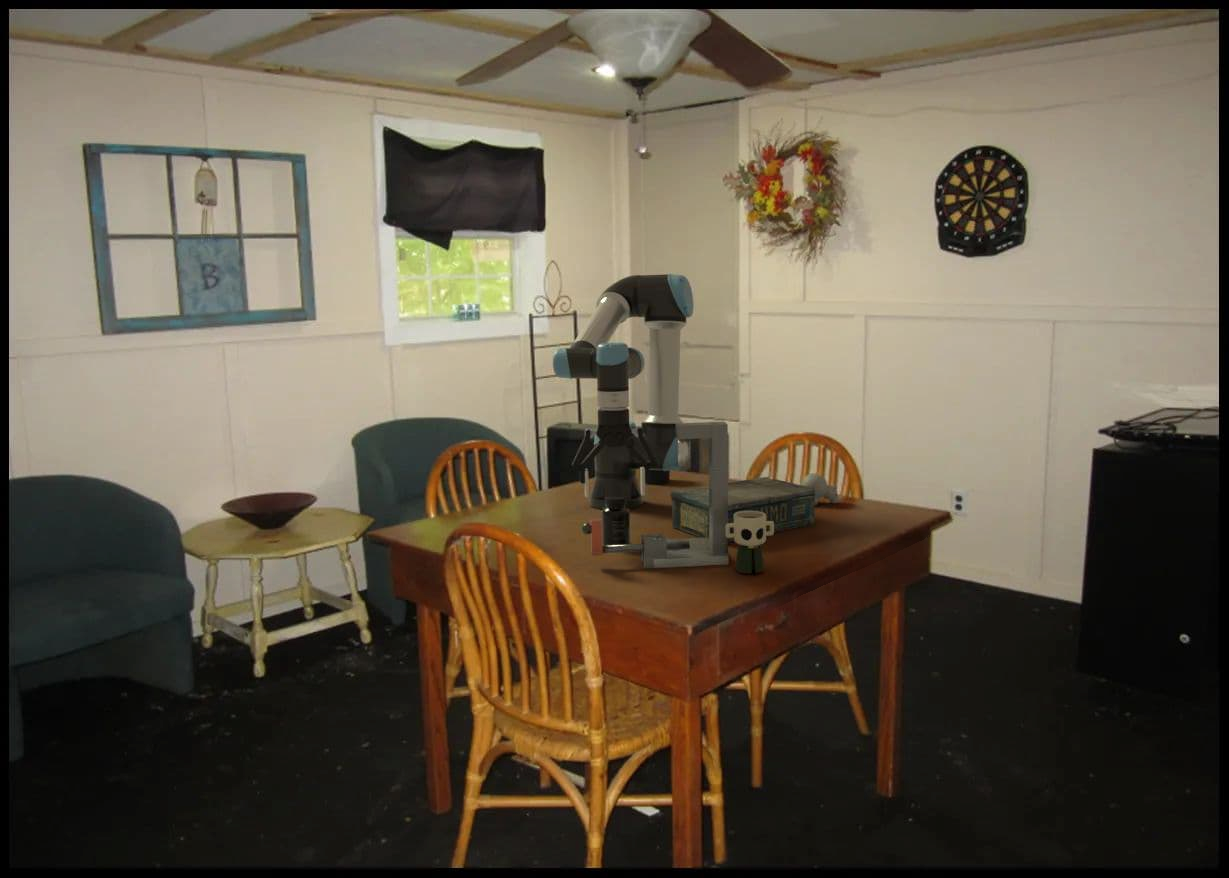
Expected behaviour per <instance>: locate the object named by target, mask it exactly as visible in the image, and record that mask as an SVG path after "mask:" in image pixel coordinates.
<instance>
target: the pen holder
mask: <svg viewBox="0 0 1229 878" xmlns="http://www.w3.org/2000/svg"><path fill="white" fill-rule="evenodd" d="M670 471H671V470H667V471H663V470H649V481H645V483H646V484H645V485H650V484H659V485H665V483H666V484H668V483H669V482H670V474H671V473H670Z"/></svg>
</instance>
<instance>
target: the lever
mask: <svg viewBox="0 0 1229 878" xmlns="http://www.w3.org/2000/svg"><path fill="white" fill-rule="evenodd" d="M581 532H582V533H583V534H585V535H590V547H591V549H590V552H591V556H593V557H594V556H596V557H597V556H603V555H604V554H618V553H619V554H620V553H622V554H624V553H642V552H644V544H642V543H630V544H624V545H603V538H602V517H596V518H590V522H585V523H583V524H582V526H581ZM689 548H690V545H689V541H687V542H667V550H686V549H689Z"/></svg>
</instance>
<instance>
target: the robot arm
mask: <svg viewBox="0 0 1229 878" xmlns="http://www.w3.org/2000/svg"><path fill="white" fill-rule="evenodd" d="M595 308H596V309H595V310H594V311H593V313H592V314H591V316H590V317H589V318H588V320H587V321H586V323H585V325H584V326H583V328H582V329H581V331H580V332H579V334H578V335H577V337H576V338H575V339H574V341H573V343H572V344H571V345H570V346H569V347H563V348H562V347H561V348H557V349H556V350H555V351H554V352H553V356H552V368H553V372H554V374H555V376H556V377H557V378H561V379H570V380H572V379H581V380H582V379H586V380H588V379H589V380H590V379H592V380H593V379H594V380H595V379H596V382H597V383H596V385H597V388H596V389H597V393H596V395H597V397H596V398H597V399H596V400H597V407H598V408H599V409H598V410H597V427H596V429H590V428H589V427H588V428H585V430H584V437H583V439H582V442H581V443H580V446H579V448H578V450H577V452H576V455H575V456H574V458H573V460H572V463H571V466H572V468H573V469H575V470H579V482H580V484H582V485H583V484H584V497H585V498H587V499H588V498H589V505H590V506H591V507H592V508H595V509H599V510H603V509H604V508H605V507H606V505H605V497H607V496H612V495H621V496H624V497H625V505H624V506H625V507H627V508H628V509H629V510H630V509H635V508H639V507H640V506H642V505H643V503H644V502H643V496H646V484H645V481H649V470H663V471H667V470H670V471H679V470H680V469H678V438H677V437H676V423H684V421H683V420H682V419H681V418H680V417H679V398H680V397H679V395H680V363H681V361H680V360H681V330H682V329H683V328H684V327H685V326H686V325H687V318H690V317H692V316H693V315H694V314H693V313H694V295H693V291H692V287H691V284H690V281H689V279H688V278H687V277H686V276H685V275H682V274H673V273H672V274H671V273H668V274H644V275H641V274H634V275H628V276H626V277H623V278H622V279H619V280H618V281H616V282H614V283H612V284H611V285H610V286H609V287H607V288H606V289H605V290H604V291H603V292H602V293H601V294H600V296H598V298H597V301H596V305H595ZM629 318H644V325H645V326H646V327H647V328H648V329H649V339H648V340H649V342H648V348H649V349H648V379H647V381H648V383H647V386H648V387H647V415H646V417H644V419H643V420H641V426H637V427H636V422H634V421H630V410H629V408H628V407H630V387H629V383H630V382H629V381H630V380H632V379H634V378H636V377H637V376H639V375H640V374H641V373H642V372H643V370H644V368H645V363H646V362H645V358H644V355H643V353H642V352H641V351H640V350H638V349H637V348H635V347H629V346H628V345H627V343H624V342H609V341H610V340H611V338H612V337H613V335H614V333H615V332H616V331H617V329H618V327H619V326H620V325H621V324H622V323H624V322H626V321H627V320H628V319H629ZM593 438H594V442H593V448H592V450H591V451H590V452H588V453H589V454H587V456H586V457H585V458H584V459H583V460H582V458H583V455H584V454H585V451H586V449H587V447H588V446H589V444H590V440H591V439H593ZM581 460H582V462H581ZM593 460H594V480H593V481H594V482H593V484H592V488H591V492H590V490H589V470H588V466H589V465H590V464H591V463H592V462H593ZM580 462H581V463H580ZM637 470H640V485H639V482H638V478H637ZM589 492H590V494H589Z"/></svg>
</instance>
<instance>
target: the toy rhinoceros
mask: <svg viewBox="0 0 1229 878" xmlns="http://www.w3.org/2000/svg"><path fill="white" fill-rule="evenodd" d="M800 485H802V486H807V487H810V488H813V489H814V490H815V496H814V497H815V504H814V507H815V506H817V505H818V504H819V499H821V498H822V497H823V498H824V499H826V500H828V501H829V502H830V503H831V504H837V503H838V502H839V501H840V499H841V498H842V497H843V494H842V492H841V493H840V494H839V493H838V490H837V488H838V486H835V485H836V483H833V484H828V482H827V480H826V478H825V477H824V476H823V475H821V474H820V473H812V472H811V473H808V474H807V475H805V476H803V478H802V481H801V483H800Z"/></svg>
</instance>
